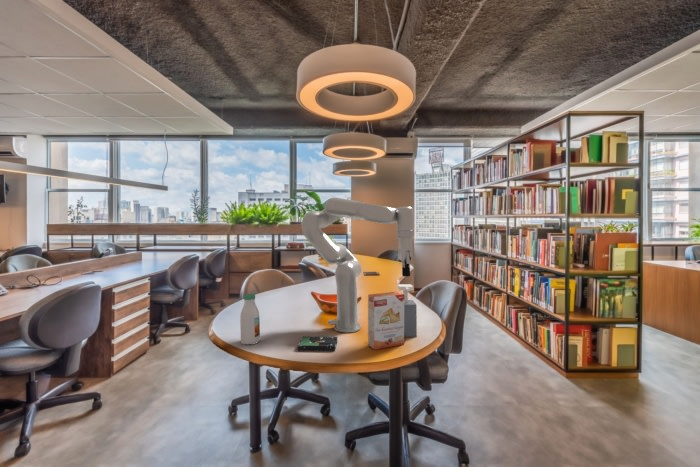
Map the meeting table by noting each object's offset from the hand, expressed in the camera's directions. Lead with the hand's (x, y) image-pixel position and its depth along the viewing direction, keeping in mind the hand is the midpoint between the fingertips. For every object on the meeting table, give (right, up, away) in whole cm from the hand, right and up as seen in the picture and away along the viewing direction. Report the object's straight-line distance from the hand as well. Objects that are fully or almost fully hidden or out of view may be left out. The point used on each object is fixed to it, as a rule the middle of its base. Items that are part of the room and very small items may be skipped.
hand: (406, 276), depth 139 cm
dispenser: (0, -26, +1) cm, 26 cm away
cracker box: (-10, -27, -12) cm, 31 cm away
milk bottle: (-67, -27, -7) cm, 73 cm away
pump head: (0, -17, -1) cm, 17 cm away
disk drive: (-38, -27, -12) cm, 48 cm away
